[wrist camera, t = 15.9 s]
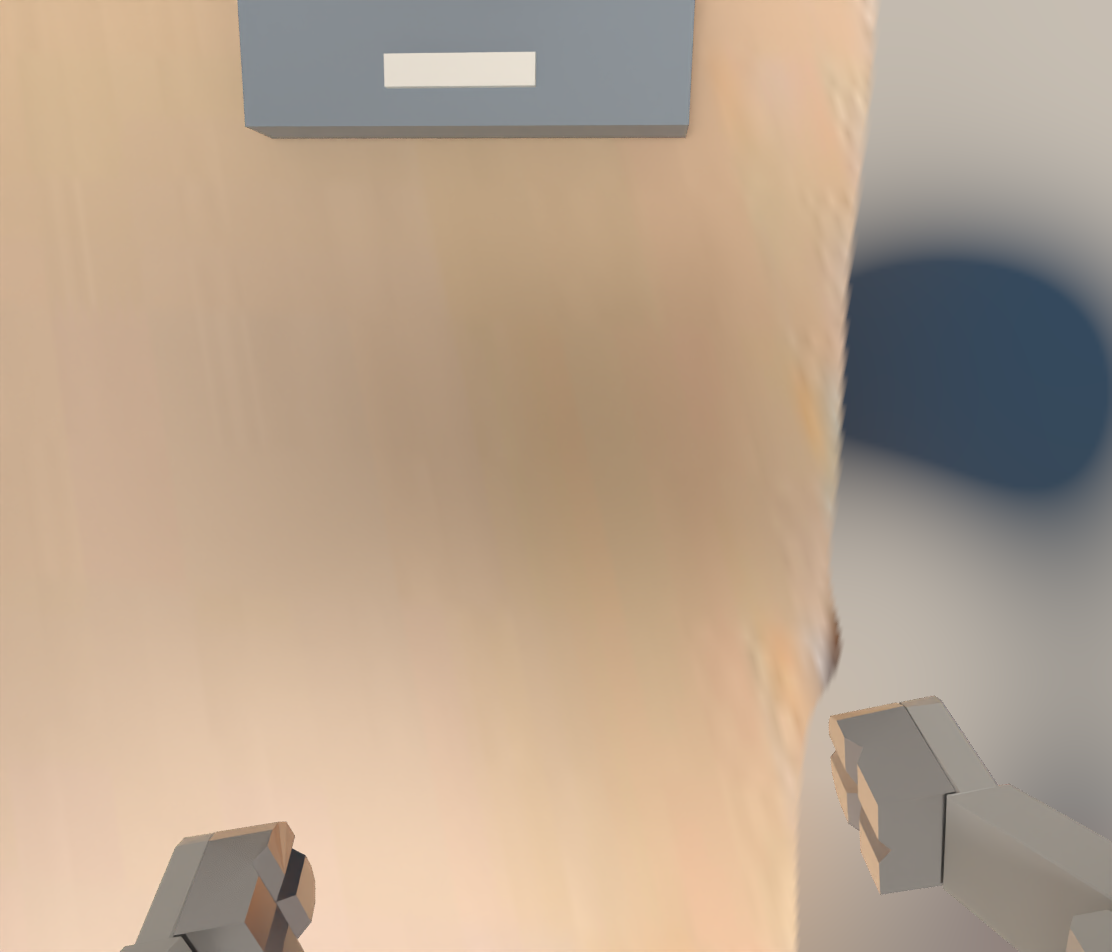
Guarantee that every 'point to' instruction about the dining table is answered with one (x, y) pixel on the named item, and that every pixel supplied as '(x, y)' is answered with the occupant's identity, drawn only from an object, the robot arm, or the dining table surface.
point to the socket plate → (467, 68)
